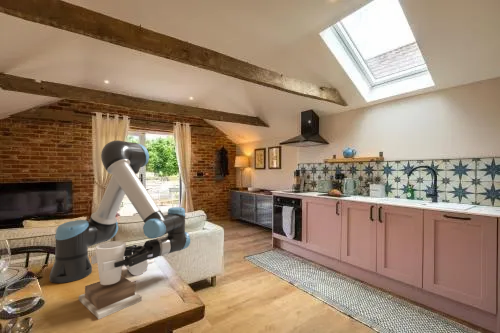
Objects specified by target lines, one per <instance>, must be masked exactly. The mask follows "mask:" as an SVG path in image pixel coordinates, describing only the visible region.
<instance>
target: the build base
mask: <svg viewBox="0 0 500 333" xmlns="http://www.w3.org/2000/svg"><path fill="white" fill-rule="evenodd" d="M142 298H143V296H142V295H140V294H139V293H137V292H136V283H135V282H133V281H131V280H130V279H127V278H126V277H124V276H122V275H121V278H120V281H118V282H117V283H114V284H110V285H101V284H100V281H97V282H93V283H90V284H87V285H85V286H84V293H83V294H80V295H78V301H79V303H81V304H82V305H83V306H84V307H85V308H86V309H87V310H88V311H89V312H91V313H92V314H93V316H94V317H95V318H97V320H100V319H104V318H105V317H108V316H109V315H110V316H111V315H112V314H114V313H116V312H118V311H121V310H124V309H126V308H129V307H131V306H133V305H135V304H137V303H139V302H142V300H143V299H142Z"/></svg>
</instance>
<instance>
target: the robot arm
mask: <svg viewBox="0 0 500 333" xmlns="http://www.w3.org/2000/svg"><path fill="white" fill-rule="evenodd" d="M100 159H101V163H102V165H103V167H104V169H105V171H106V172H107V173H108V174H110V175H111V178H110V179H109V182H108V185H107V187H106V190H105V191H104V194H103V196H102V198H101V201H100V203H99V205H98V208H97V210H96V211H95V212H92V213H91V215H90V216H89V217H90V218H89V219H88V220H87V219H77V220H70V221H66V222H64V223H60V225H59V226H57V227H56V230H55V235H54V238H55V245H54V246H55V249H54V250H55V254H54V256H55V257H54V263H53V265H52V268H51V270H50V273H49V276H48V278H49V282H51V283H54V284H62V283H71V282H74V281H78V280H81V279H84V278H86V277H88V276H90V274H92V273H93V267H92V265H94V264H97V257H96V254H95V255H90V256H91V257H90V258H91V260H90V258H89V255H88V254H89V252H88V251H89V249H88V248H89V247H92V246H95V245H99V244H101V243H105V242H109V240H111V239H112V238H115V236H116V234H117V233H118V231H119V226H118V223H119V222H118V218H117V213H118V211H119V209H120V207H121V204H122V202H123V200H124V198H125V196H126V197H127V199H128V200H129V202H130V203H131V205H132V206H133V208H134V209H135V211H136V212H137V214H138V215H139V217H140V219H142V221H143V223H144V224H143V226H142V230H143V235H144V236H145V237H147V238H148V239H149V240H146V241H145V242H144V244H143V245H137V244H133V245H130V246H129V245H128V246H126V249H125V252H124V258H120V259H116V260H113V261H109V262H105V263H103V272H105V271H108V270H111V269H115V268H118V267H121V266H122V267H124V266H128V265H129V267H131V266H134V265H136V264H138V263H141V262H143V261H145V260H147V261H149V260H148V259H153V258H154V259H155V258H159V257H164V256H165V255H169V254H172V253H175V252H180V251H182V250H185V249H187V248H188V247H189V246H190V244H191V236H190V234H189V233H188V232H187V231H186V210H185V207H181V206H180V207H179V206H176V207H175V206H174V207H169V208H168V211H167V213H166V214H164V213H163V212H162V211H161V208H159V206H158V205H157V203H156V202H155V200H154V199H153V197H152V196H151V194H150V193H149V192H148V190H147V189H146V187H145V186H144V184H143V183H142V181H141V180H140V178H139V177H138V173H139V172H140V169H141V168H143V167H145V166H147V165H148V163H149V160H150V154H149V151H148V149H147V147H146V146H145V145H143V144H140V143H137V142H130V141H124V140H112V141H109V142H107V143H106V144H105V145H104V146H103V148H102V149H101V153H100ZM166 234H167V235H166ZM165 235H166V236H165ZM132 252H133V254H132ZM127 256H128V257H127ZM124 259H125V260H124Z"/></svg>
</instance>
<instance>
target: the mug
mask: <svg viewBox="0 0 500 333" xmlns="http://www.w3.org/2000/svg"><path fill="white" fill-rule="evenodd" d="M132 254H133V252H132ZM127 257H128V256H127ZM124 260H125V258H124ZM154 262H155V258H153V259H148V260H145V261H143V262H141V263H138V264H136V265H134V266H131V267H129V265H128V266H125V267H126V269H127V270H128V272H129V273H130V274H131V275H133V276H140V275H143V273H145V272H146V271H147V269H148V266H149V265H150V264H152V263H154Z"/></svg>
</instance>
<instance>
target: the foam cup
mask: <svg viewBox="0 0 500 333" xmlns="http://www.w3.org/2000/svg"><path fill="white" fill-rule="evenodd" d="M126 243H127V242H126V241H123V240H113V241H105V242H102V243H98V244H96V246H95V255H96V257H97V263H96V264H97V270H98V271H97V272H98V277H99V278H98V279H99V282H100V284H101V285H110V284H114V283H117V282H118V281H120V278H121V276H122V271H123V270H122V269H123V266H121V267H118V268H115V269H111V270H108V271H105V272H103V263H105V262H109V261H113V260H116V259H120V258H124V259H125V256H124V252H125V249H126V247H127V244H126Z"/></svg>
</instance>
